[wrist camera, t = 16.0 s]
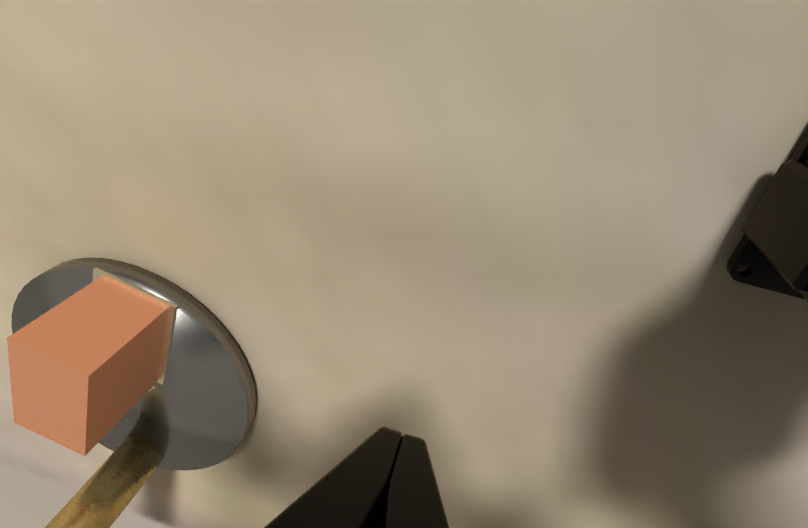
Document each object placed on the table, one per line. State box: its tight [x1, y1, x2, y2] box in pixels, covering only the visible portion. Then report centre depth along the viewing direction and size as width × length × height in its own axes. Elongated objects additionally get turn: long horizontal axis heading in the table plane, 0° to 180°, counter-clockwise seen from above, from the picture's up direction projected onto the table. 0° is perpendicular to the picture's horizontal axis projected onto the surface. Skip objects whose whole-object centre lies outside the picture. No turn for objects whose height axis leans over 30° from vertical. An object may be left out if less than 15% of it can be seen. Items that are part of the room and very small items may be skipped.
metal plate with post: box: [12, 258, 256, 528], centre depth 24 cm, size 14×14×11 cm
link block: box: [7, 277, 168, 456], centre depth 23 cm, size 4×6×5 cm, turn 158°
